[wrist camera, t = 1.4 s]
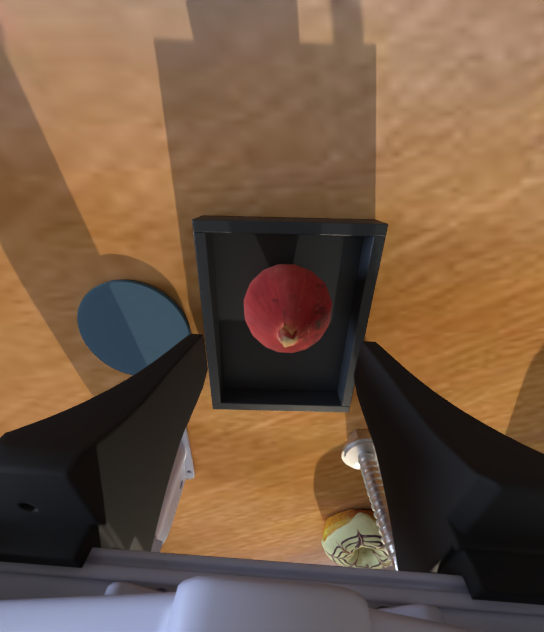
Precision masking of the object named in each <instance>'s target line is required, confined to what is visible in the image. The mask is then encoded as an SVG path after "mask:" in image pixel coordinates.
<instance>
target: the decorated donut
mask: <svg viewBox="0 0 544 632" xmlns="http://www.w3.org/2000/svg"><path fill="white" fill-rule="evenodd" d="M376 520H377V519H376V518H375V517H374V511H372V510H366V511H365V510H360V509H358V510H355V509H349V510H347V511H343V512H339V513H337V514H336V515H333V516H331V517H329V518H328V519H327V520H326V523H325V526H324V529H323V539H322V540H321V542H322V545H323V548H324V550H325V552H326V554H327V555H328V557H329V558H330V559H331V560H332V561H334V562H336V563H338V564H339V565H341V566H344V567H356V568H369V569H380V568H384V567H387V566H389V565H390V564H392V562H391V561H389V560H388V557H389V554H388V553H386V552H385V550H384V547H385V544H383V543H382V541H381V537H382V535H381V534H380V533H379V527H378V526H377V524H376Z"/></svg>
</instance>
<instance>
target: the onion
mask: <svg viewBox="0 0 544 632" xmlns="http://www.w3.org/2000/svg"><path fill="white" fill-rule="evenodd" d="M331 311H332V301H331V298H330V295H329V292H328V289H327V287H326V284H325V283H324V282H323V281H322V280H321V279H320V278H319V277H318V276H317V275H316V274H315V273H314V272H313V271H310V270H308V269H305V268H303V267H300V266H298V265H295V264H277V265H275V266H272V267H270V268H267V269H265V270H263V271H262V272H261V273H260V274H259V275H258V276H257V277H256V278H254V279H253V280H252V281H251V283H250V285H249V287H248V290H247V292H246V295H245V298H244V316H245V320H246V323H247V325H248V327H249V329H250V331H251V333H252V335H253V336H254V337H255V338H256V339H257V340H258V341H259V342H260V343H262V344H263V345H264V346H265V347H267V348H269V349H272V350H274V351H277V352H284V353H294V352H298V351H302V350H306V349H307V348H309V347H310V346H312V345H313V344H315V343H316V342H318V341H319V340H320V338H321V337H322V335H323V334H324V332H325V330H326V329H327V327H328V325H329V323H330V317H331Z"/></svg>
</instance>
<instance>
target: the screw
mask: <svg viewBox="0 0 544 632" xmlns="http://www.w3.org/2000/svg"><path fill="white" fill-rule="evenodd" d="M347 439H348V442H347V443H346V444H345V445H344V446H343V448H342V450H341V457H342V460H343V462H344V463H345V464H346V465H348V466H350V467H352V468H354V469H358V470H361V471H362V472H361V474H362V476H363V477H364V478H363V481H364V483H365V487H366V489H367V494H368V496H369V501H370V503H371V504H372V505H371V508H372V510H373V511H374V517H375V518H376V519H377V520H376V524H377V526H378V527H379V533H380V534H381V535H382V537H381V541H382V543H383V544H385V547H384V550H385V552H386V553H388V554H389V557H388V560H389V561H391V562H392V565H393V568H394V570H395V571H398V565H397V559H396V553H395V547H394V540H393V534H392V529H391V523H390V518H389V512H388V507H387V502H386V497H385V492H384V487H383V482H382V478H381V473H380V471H379V470H380V469H379V464H378V460H377V455H376V451H375V448H374V445H373V441H372V438H371V435H370V433H369V431H368V430H356V429H355V430H354V431H353V432H352V433H351V434H350V435H348V436H347Z"/></svg>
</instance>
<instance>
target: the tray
mask: <svg viewBox="0 0 544 632" xmlns="http://www.w3.org/2000/svg"><path fill="white" fill-rule="evenodd" d="M192 224H193V231H194V242H195V251H196V260H197V269H198V278H199V287H200V296H201V305H202V314H203V323H204V333H205V342H206V351H207V360H208V369H209V378H210V387H211V396H212V405H213V409H233V410H273V411H314V412H349V408H350V404H351V399H352V394H353V389H354V384H355V380H354V372H355V368H356V364H357V359H358V355H359V350H360V346H361V342H362V341H364V337H365V332H366V327H367V323H368V318H369V313H370V308H371V304H372V299H373V294H374V289H375V285H376V280H377V275H378V270H379V265H380V261H381V256H382V251H383V246H384V242H385V236H386V232H387V227H388V224H386V223H384V222H381V221H378V220H374V219H331V218H289V217H246V216H203V215H202V216H200V217H197V218H195V219H192ZM277 264H295V265H298V266H300V267H303V268H305V269H308V270H310V271H313V272H314V273H315V274H316V275H317V276H318V277H319V278H320V279H321V280H322V281H323V282H324V283H325V284H326V287H327V289H328V292H329V295H330V298H331V301H332V311H331V317H330V323H329V325H328V327H327V329H326V330H325V332H324V334H323V335H322V337H321V338H320V340H319V341H318V342H316V343H315V344H313V345H312V346H310V347H309V348H307V349H306V350H302V351H298V352H294V353H284V352H277V351H274V350H272V349H269V348H267V347H265V346H264V345H263V344H262V343H260V342H259V341H258V340H257V339H256V338H255V337H254V336H253V335H252V333H251V331H250V329H249V327H248V325H247V323H246V320H245V316H244V298H245V295H246V292H247V290H248V287H249V285H250V283H251V281H252V280H253V279H254V278H256V277H257V276H258V275H259V274H260V273H261V272H262V271H263V270H265V269H267V268H270V267H272V266H275V265H277Z"/></svg>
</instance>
